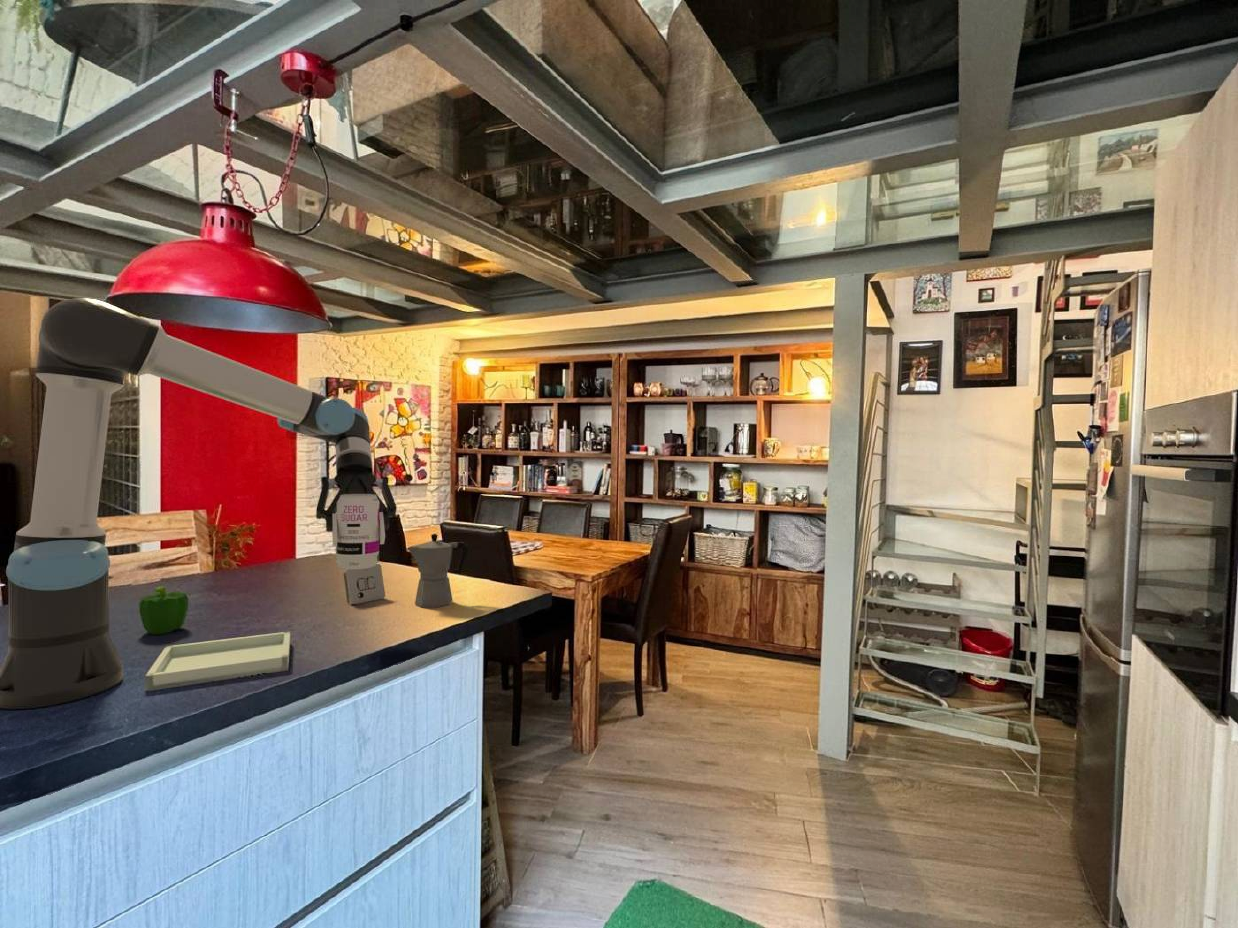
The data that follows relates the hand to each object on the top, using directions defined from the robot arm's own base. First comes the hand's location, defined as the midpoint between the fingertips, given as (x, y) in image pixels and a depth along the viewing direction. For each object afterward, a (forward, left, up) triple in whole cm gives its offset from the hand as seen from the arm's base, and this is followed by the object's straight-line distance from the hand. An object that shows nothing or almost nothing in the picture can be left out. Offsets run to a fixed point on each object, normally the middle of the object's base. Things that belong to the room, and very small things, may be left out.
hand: (359, 541), depth 118 cm
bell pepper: (-36, +25, -21) cm, 49 cm away
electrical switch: (+4, +34, -21) cm, 40 cm away
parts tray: (-22, -4, -21) cm, 31 cm away
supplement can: (0, +3, -6) cm, 7 cm away
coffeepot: (+21, +23, -21) cm, 37 cm away
